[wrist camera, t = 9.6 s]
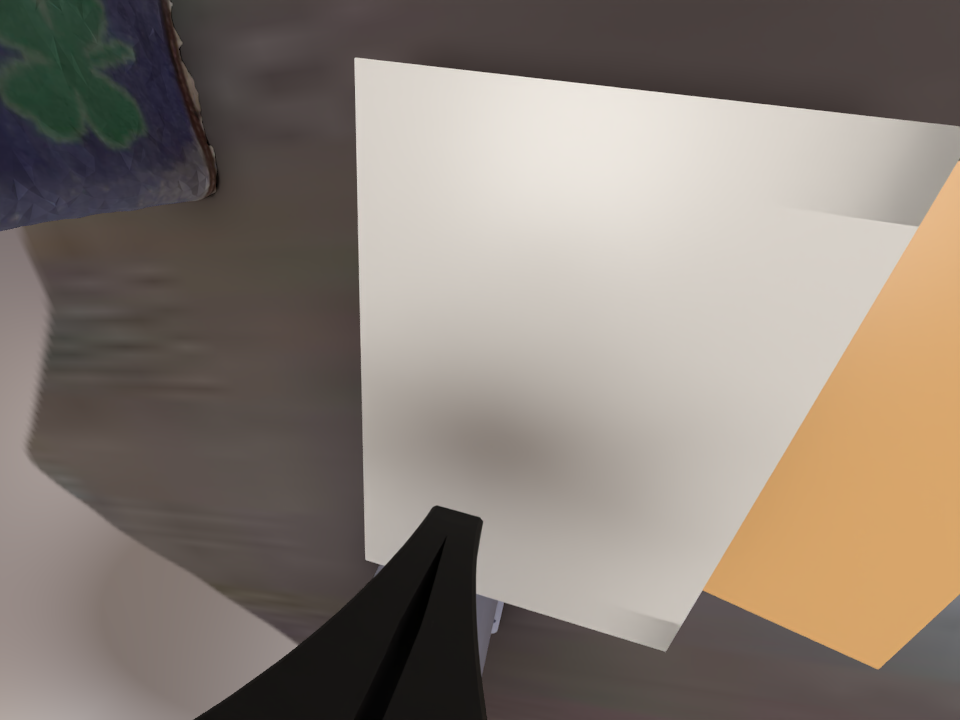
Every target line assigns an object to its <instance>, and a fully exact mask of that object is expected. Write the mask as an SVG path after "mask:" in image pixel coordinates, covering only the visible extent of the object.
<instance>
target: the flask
mask: <svg viewBox="0 0 960 720" xmlns="http://www.w3.org/2000/svg"><path fill="white" fill-rule="evenodd" d="M171 6H173V3H171V2H170V0H0V231H3V230H8V229H13V228H17V227H20V226H27V225H34V224H38V223H42V222H48V221H55V220H61V219H72V218H81V217H85V216H89V215H94V214H100V213H109V212H116V211H132V210H138V209H143V208H145V207H151V206H157V205H163V204H173V203H180V202H186V201H198V200H201V199H204V198H205V197H207V196H209V195H211V194H213V193H215V192H216V188H215V187H216V173H217V167H216V163H215V161H216V160H215V153H214V151H213V150H214V149H213V147H212V146H211V145H210V146H208V144H207V143H206V142H207V139H206V137H205V131H204V128H203V124H202V117H201V114H200V111H201V107H200V104H199V101H198V95H199V93H198V92H197V91H196V88H195V85H194V80H193V78H192V77H191V76H190V74H191V73H188V70H187V68H186V67H185V65H184V63H183V62H182V61H181V57H180V51H179V48H180V46H181V45H182V44H183V42H182V41H181V40H180V38H179V35H178V34H177V32H176V30H175V29H174V27H173V23H172V19H171Z"/></svg>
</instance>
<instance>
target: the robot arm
mask: <svg viewBox="0 0 960 720" xmlns="http://www.w3.org/2000/svg"><path fill="white" fill-rule="evenodd" d="M482 526H483V520H482V519H481V518H480V517H477V516H474V515H470V514H467V513H463V512H459V511H456V510H452V509H449V508H445V507H441V506H438V505H436V506H434V507H432V509H431V510H430V512H429V513H428V514H427V516H426V517H425V519H424V520H423V521H422V523H421V524H420V525H419V527H418V528H417V529H416V530H415V532H414V533H413V534H412V535H411V537H410V538H409V539H408V540H407V541H406V543H405V544H404V545H403V546H402V547H401V548H400V549H399V551H398V552H397V553H396V554H395V555H394V556H393V557H392V558H391V560H390V561H389V562H388V563H387V564H386V565H385V566H384V565H379V567H378V569H377V571H376V573H375V575H374V577H373V579H372V580H371V581H370V582H369V583H368V584H367V585H366V586H365V587H364V588H363V589H362V590H361V591H360V592H359V593H358V594H357V595H356V596H355V597H354V598H353V599H351V600H350V601H349V602H348V603H347V604H346V605H345V606H344V607H343V608H342V609H341V610H340V611H339V612H337V613H336V614H335V615H334V616H333V617H332V618H331V619H329V620H328V621H327V622H326V623H325V624H324V625H323V626H321V627H320V628H319V629H318V630H317V631H315V632H314V633H313V634H312V635H311V636H309V637H308V638H307V639H306V640H304V641H303V642H302V643H301V644H300V645H298V646H297V647H296V648H295V649H293V650H292V651H291V652H290V653H289V654H287V655H286V656H284V657H283V658H282V659H281V660H279V661H278V662H277V663H275V664H274V665H273V666H271V667H270V668H269V669H267V670H266V671H264V672H263V673H262V674H260V675H259V676H257V677H256V678H255V679H253V680H252V681H250V682H249V683H247V684H246V685H245V686H243V687H242V688H241V689H239V690H238V691H236V692H235V693H234V694H232V695H231V696H229V697H228V698H226V699H225V700H223V701H222V702H220V703H219V704H217V705H216V706H214V707H212V708H211V709H210V710H208V711H207V712H205V713H203V714H202V715H200V716H198V717H197V718H195V719H194V720H487V716H486V708H485V701H484V693H483V686H482V674H483V669H484V664H485V660H486V655H487V650H488V646H489V641H490V636H491V633H496V632H497V631H498V626H499V622H500V618H501V614H502V609H503V605H504V602H501V601H498V600H495V599H492V598H488V597H485V596H482V595H479V594H476V567H477V555H478V549H479V544H480V538H481V532H482Z"/></svg>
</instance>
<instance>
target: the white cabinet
mask: <svg viewBox="0 0 960 720" xmlns="http://www.w3.org/2000/svg"><path fill="white" fill-rule="evenodd" d="M355 104H356V150H357V196H358V242H359V289H360V335H361V381H362V427H363V473H364V520H365V560H367V561H371V562H374V563H377V564H380V565H384V566H385V565H386V564H387V563H388V562H389V561H390V560H391V558H392V557H393V556H394V555H395V554H396V553H397V552H398V551H399V549H400V548H401V547H402V546H403V545H404V544H405V543H406V541H407V540H408V539H409V538H410V537H411V535H412V534H413V533H414V532H415V530H416V529H417V528H418V527H419V525H420V524H421V523H422V521H423V520H424V519H425V517H426V516H427V514H428V513H429V512H430V510H431V509H432V507H434V506H436V505H438V506H441V507H445V508H449V509H452V510H456V511H459V512H463V513H467V514H470V515H474V516H477V517H480V518H481V519H482V520H483V526H482V532H481V538H480V544H479V549H478V555H477V567H476V594H479V595H482V596H485V597H488V598H492V599H495V600H498V601H501V602H505V603H508V604H511V605H515V606H518V607H521V608H524V609H528V610H531V611H534V612H537V613H541V614H544V615H547V616H551V617H554V618H557V619H560V620H564V621H567V622H570V623H573V624H577V625H580V626H583V627H586V628H590V629H593V630H596V631H600V632H603V633H606V634H609V635H613V636H616V637H619V638H622V639H626V640H629V641H632V642H636V643H639V644H642V645H645V646H649V647H652V648H655V649H658V650H662V651H665V652H666V650H667V649H668V647H669V645H670V644H671V642H672V640H673V639H674V637H675V635H676V634H677V632H678V630H679V629H680V627H681V625H682V624H683V622H684V620H685V618H686V617H687V615H688V613H689V612H690V610H691V608H692V607H693V605H694V603H695V602H696V600H697V598H698V597H699V595H700V593H701V592H702V590H703V588H704V587H705V585H706V583H707V582H708V580H709V578H710V577H711V575H712V573H713V571H714V570H715V568H716V566H717V565H718V563H719V561H720V560H721V558H722V556H723V555H724V553H725V551H726V550H727V548H728V546H729V545H730V543H731V541H732V540H733V538H734V536H735V535H736V533H737V531H738V529H739V528H740V526H741V524H742V523H743V521H744V519H745V518H746V516H747V514H748V513H749V511H750V509H751V508H752V506H753V504H754V503H755V501H756V499H757V498H758V496H759V494H760V493H761V491H762V489H763V488H764V486H765V484H766V482H767V481H768V479H769V477H770V476H771V474H772V472H773V471H774V469H775V467H776V466H777V464H778V462H779V461H780V459H781V457H782V456H783V454H784V452H785V451H786V449H787V447H788V446H789V444H790V442H791V441H792V439H793V437H794V435H795V434H796V432H797V430H798V429H799V427H800V425H801V424H802V422H803V420H804V419H805V417H806V415H807V414H808V412H809V410H810V409H811V407H812V405H813V404H814V402H815V400H816V399H817V397H818V395H819V393H820V392H821V390H822V388H823V387H824V385H825V383H826V382H827V380H828V378H829V377H830V375H831V373H832V372H833V370H834V368H835V367H836V365H837V363H838V362H839V360H840V358H841V357H842V355H843V353H844V352H845V350H846V348H847V346H848V345H849V343H850V341H851V340H852V338H853V336H854V335H855V333H856V331H857V330H858V328H859V326H860V325H861V323H862V321H863V320H864V318H865V316H866V315H867V313H868V311H869V310H870V308H871V306H872V304H873V303H874V301H875V299H876V298H877V296H878V294H879V293H880V291H881V289H882V288H883V286H884V284H885V283H886V281H887V279H888V278H889V276H890V274H891V273H892V271H893V269H894V268H895V266H896V264H897V263H898V261H899V259H900V257H901V256H902V254H903V252H904V251H905V249H906V247H907V246H908V244H909V242H910V241H911V239H912V237H913V236H914V234H915V232H916V231H917V229H918V227H919V226H920V224H921V222H922V221H923V219H924V217H925V215H926V214H927V212H928V210H929V209H930V207H931V205H932V204H933V202H934V200H935V199H936V197H937V195H938V194H939V192H940V190H941V189H942V187H943V185H944V184H945V182H946V180H947V179H948V177H949V175H950V174H951V172H952V170H953V168H954V167H955V165H956V163H957V162H958V160H959V158H960V127H959V126H950V125H941V124H932V123H924V122H915V121H906V120H897V119H889V118H880V117H871V116H862V115H853V114H845V113H836V112H827V111H818V110H810V109H801V108H792V107H783V106H775V105H766V104H757V103H748V102H739V101H731V100H722V99H713V98H704V97H696V96H687V95H678V94H669V93H661V92H652V91H643V90H634V89H626V88H617V87H608V86H599V85H590V84H582V83H573V82H564V81H555V80H547V79H538V78H529V77H520V76H512V75H503V74H494V73H485V72H476V71H468V70H459V69H450V68H441V67H433V66H424V65H415V64H406V63H398V62H389V61H380V60H371V59H363V58H355Z"/></svg>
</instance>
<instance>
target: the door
mask: <svg viewBox="0 0 960 720" xmlns="http://www.w3.org/2000/svg"><path fill="white" fill-rule="evenodd" d="M703 591H705V592H708V593H710V594H712V595H714V596H716V597H719V598H721V599H723V600H725V601H728V602H730V603H732V604H734V605H736V606H739V607H741V608H743V609H745V610H747V611H750V612H752V613H754V614H756V615H759V616H761V617H763V618H765V619H767V620H770V621H772V622H774V623H776V624H778V625H781V626H783V627H785V628H787V629H790V630H792V631H794V632H796V633H798V634H801V635H803V636H805V637H807V638H809V639H812V640H814V641H816V642H818V643H821V644H823V645H825V646H827V647H829V648H832V649H834V650H836V651H838V652H840V653H843V654H845V655H847V656H849V657H852V658H854V659H856V660H858V661H860V662H863V663H865V664H867V665H869V666H871V667H874V668H876V669H879V668H881V667H882V666H883V665H884V664H885V663H886V662H887V661H888V660H889V659H890V658H891V657H892V656H893V655H895V654H896V653H897V652H898V651H899V650H900V649H901V648H902V647H903V646H904V645H905V644H906V643H907V642H908V641H910V640H911V639H912V638H913V637H914V636H915V635H916V634H917V633H918V632H919V631H920V630H921V629H922V628H924V627H925V626H926V625H927V624H928V623H929V622H930V621H931V620H932V619H933V618H934V617H935V616H936V615H938V614H939V613H940V612H941V611H942V610H943V609H944V608H945V607H946V606H947V605H948V604H949V603H950V602H951V601H953V600H954V599H955V598H956V597H957V596H958V595H959V594H960V161H958V162H957V163H956V165H955V167H954V168H953V170H952V172H951V174H950V175H949V177H948V179H947V180H946V182H945V184H944V185H943V187H942V189H941V190H940V192H939V194H938V195H937V197H936V199H935V200H934V202H933V204H932V205H931V207H930V209H929V210H928V212H927V214H926V215H925V217H924V219H923V221H922V222H921V224H920V226H919V227H918V229H917V231H916V232H915V234H914V236H913V237H912V239H911V241H910V242H909V244H908V246H907V247H906V249H905V251H904V252H903V254H902V256H901V257H900V259H899V261H898V263H897V264H896V266H895V268H894V269H893V271H892V273H891V274H890V276H889V278H888V279H887V281H886V283H885V284H884V286H883V288H882V289H881V291H880V293H879V294H878V296H877V298H876V299H875V301H874V303H873V304H872V306H871V308H870V310H869V311H868V313H867V315H866V316H865V318H864V320H863V321H862V323H861V325H860V326H859V328H858V330H857V331H856V333H855V335H854V336H853V338H852V340H851V341H850V343H849V345H848V346H847V348H846V350H845V352H844V353H843V355H842V357H841V358H840V360H839V362H838V363H837V365H836V367H835V368H834V370H833V372H832V373H831V375H830V377H829V378H828V380H827V382H826V383H825V385H824V387H823V388H822V390H821V392H820V393H819V395H818V397H817V399H816V400H815V402H814V404H813V405H812V407H811V409H810V410H809V412H808V414H807V415H806V417H805V419H804V420H803V422H802V424H801V425H800V427H799V429H798V430H797V432H796V434H795V435H794V437H793V439H792V441H791V442H790V444H789V446H788V447H787V449H786V451H785V452H784V454H783V456H782V457H781V459H780V461H779V462H778V464H777V466H776V467H775V469H774V471H773V472H772V474H771V476H770V477H769V479H768V481H767V482H766V484H765V486H764V488H763V489H762V491H761V493H760V494H759V496H758V498H757V499H756V501H755V503H754V504H753V506H752V508H751V509H750V511H749V513H748V514H747V516H746V518H745V519H744V521H743V523H742V524H741V526H740V528H739V529H738V531H737V533H736V535H735V536H734V538H733V540H732V541H731V543H730V545H729V546H728V548H727V550H726V551H725V553H724V555H723V556H722V558H721V560H720V561H719V563H718V565H717V566H716V568H715V570H714V571H713V573H712V575H711V577H710V578H709V580H708V582H707V583H706V585H705V587H704V588H703Z"/></svg>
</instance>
